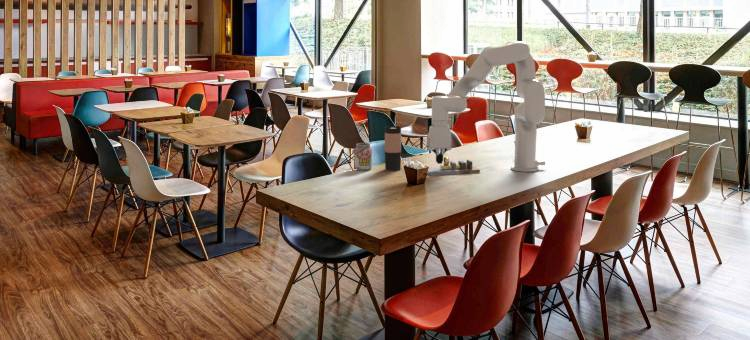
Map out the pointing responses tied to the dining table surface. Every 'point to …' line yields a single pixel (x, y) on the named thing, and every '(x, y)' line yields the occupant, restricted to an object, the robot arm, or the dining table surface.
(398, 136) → the travel mug
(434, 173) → the door plate
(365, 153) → the glass jar
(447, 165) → the bolt
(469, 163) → the jamb keeper
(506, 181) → the dining table surface
